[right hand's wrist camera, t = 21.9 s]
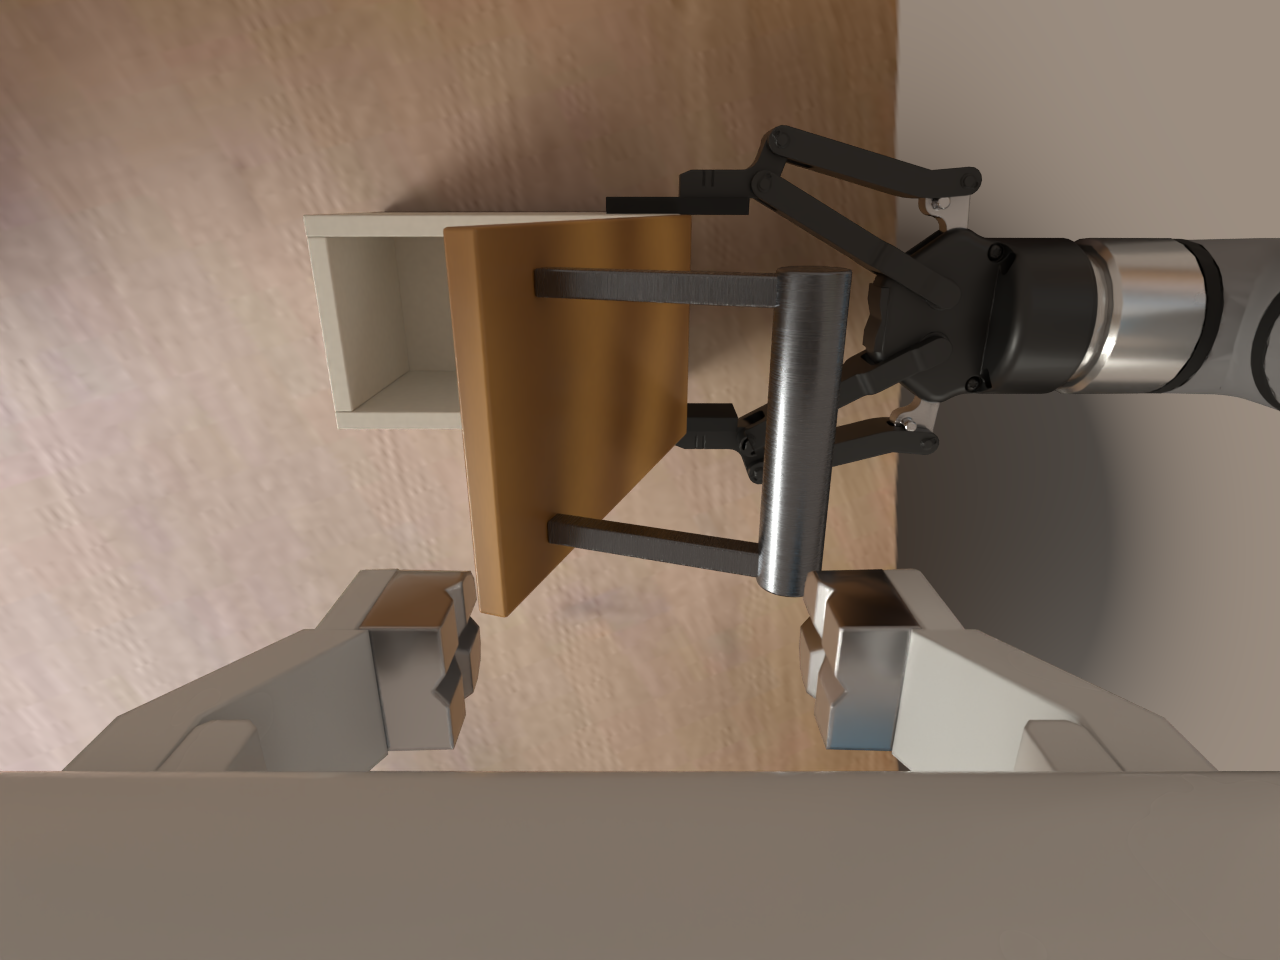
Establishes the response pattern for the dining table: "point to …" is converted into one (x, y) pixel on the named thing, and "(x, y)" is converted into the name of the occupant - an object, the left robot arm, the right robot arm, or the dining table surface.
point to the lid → (625, 395)
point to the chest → (394, 312)
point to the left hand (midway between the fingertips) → (609, 317)
